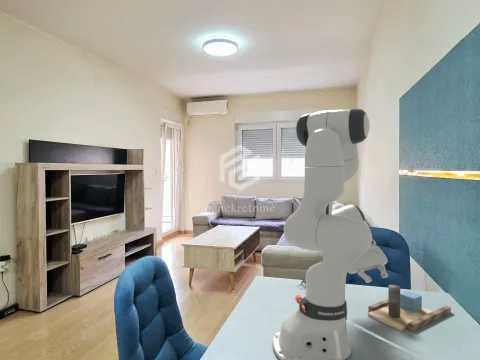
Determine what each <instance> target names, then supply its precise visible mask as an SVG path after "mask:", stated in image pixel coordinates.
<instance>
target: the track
mask: <svg viewBox="0 0 480 360" xmlns="http://www.w3.org/2000/svg"><path fill="white" fill-rule="evenodd" d="M387 305H388V298H387V299H384V300H381V301H379V302H376V303H374V304H373V303H372V304H370V305H368V307H367V308H368V309H367V311H368V312H367V313H369V312H372V311H374V310H377V309H379V308H382V307H385V306H387ZM451 308H452V307H451V306H448V305H444V306H442V307H439V308H438V309H436V310H435V309H434V310H433V311H432V312H431V313H429V314H427V315H424V316H422V317H420V318H418V319H416V320H414V321H411V322H409V323H408V328H407V330H409V331H411V332H415V331H417V330H419V329H421V328H423V327H424V326H427V325H428V324H431V323H433V322H434V321H437V320H439V319H441V318H443V317H445V316H446V315H449V314H451V312H452V309H451Z"/></svg>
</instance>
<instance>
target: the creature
mask: <svg viewBox="0 0 480 360" xmlns="http://www.w3.org/2000/svg"><path fill="white" fill-rule="evenodd" d="M303 285H305V286H304V288H306V277H305V279H303V278H302V281H301V283H300V284H299V285H297V287H298V286H300V287H301V286H303Z"/></svg>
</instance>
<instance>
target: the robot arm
mask: <svg viewBox="0 0 480 360" xmlns="http://www.w3.org/2000/svg"><path fill="white" fill-rule="evenodd" d="M369 119H370V118H369V117H368V114H367V112H365V110H363V109H362V108H361V109H360V108H351V109H335V110H334V109H332V110H331V109H328V110H321V111H317V112H314V113H311V112H309V113H306V114H303V115H301V116H300V117H299V118H298V120H297V121H296V127H295V131H296V136H297V140H298V141H299V143H300V144H301V145H302V146H304V147H305V154H304V185H303V186H304V187H303V195H302V199H301V201H300V203H299V206H298V207H297V209H296V210H295V211H294V212H293V213H292V214H290V215H289V216H288V217H287V219H285V223H284V225H283V234H284V238H285V240H286V242H287V243H288V244H290V245H292V246H295V247H297V248H300V249H301V250H307V251H313V252H320V253H322V254H323V256H322V257H323V258H322V261H319V262H317V263H315V264H313V265H311V266H310V267H309V268H308V269H307V271H306V274H305V278H306V279H305V281H306V284H305V286H306V287H305V296H304V297H302V296H301V295H300V294H297V295H296V296H295V298H294V299H295V301H296V303H297V304H298V309H297V310H295V311H294V312H293V313H291V314H289V316H287V317H286V318H284V319H283V321H282V322H281V326H280V331H276V332H275V334H274V335H273V337H272V349H273V351H274V354H275V355H276V356H277V358H278V359H279V360H346V359H348V358H349V357H350V355H351V354H352V346H351V343H350V340H349V335H348V334H349V333H348V329H347V319H348V306H347V305H348V303H347V300H346V282H347V275H348V273H349V274H350V275H353V274H357V275H358V276H359V277H360V278H362V279H363V280H364V281H365V283H366V284H369V283H371V282H373V279H372V278H371V276H370V275H367V273H365V271H369V270H372V269H378V270H379V271H380V274H379V275H380V276H381V278H382V279H386V278H388V277H389V274H388V272H387V270H386V266H385V265H386V264H387V263H388V262H389V261H388V258H387V256H386V254H385V253H384V252H383V250H382V249H381V248H380V246H378V245H376V244H377V243H376V241H375V240H374V239H373V234H372V231H371V228H370V227H369V225H368V223H367V222H366V221H365V219H366V218H365V217H366V216H365V214H364V212H363V211H362V210H361V208H359V207H358V206H357V205H355V204H347V205H345V206H342V207H339V208H337V209H334V210H333V203H334V202H335V201H337V200H338V199H340V198H341V197H342V196H343V195H344V191H345V184H346V183H347V182H348V181H349V180H351V179H352V178H353V177H354V176H355V175H356V173H357V172H358V170H359V169H358V168H359V162H360V161H359V160H360V159H359V153H358V152H359V151H358V144H360V143H363V141H365V140H366V139H367V137H368V134H369V132H370V127H371V126H370V120H369Z"/></svg>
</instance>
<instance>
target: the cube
mask: <svg viewBox="0 0 480 360" xmlns="http://www.w3.org/2000/svg"><path fill="white" fill-rule="evenodd" d="M422 299H423V296H422V295H421V294H417V293H414V292H412V291H409V290H407V291H404V292H400V308H402V309H405V310H408V311H410V312H413V313H415V312H417V311H420V310H422V308H423V304H422V303H423V300H422Z"/></svg>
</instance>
